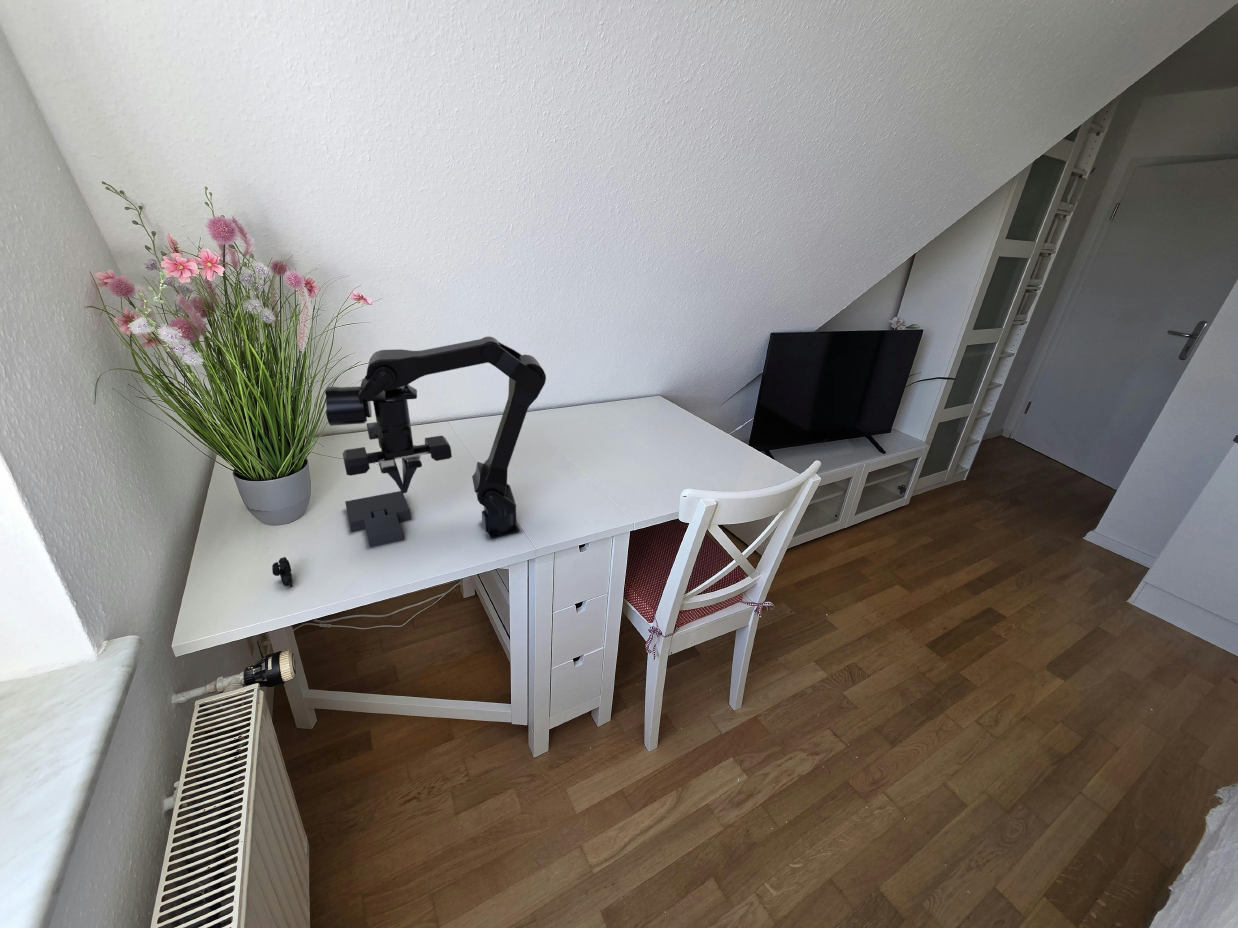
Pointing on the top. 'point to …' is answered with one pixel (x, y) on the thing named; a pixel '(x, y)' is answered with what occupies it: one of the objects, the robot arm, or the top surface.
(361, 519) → the notch pad
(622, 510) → the top surface
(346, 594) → the top surface
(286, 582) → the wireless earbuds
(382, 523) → the tab pad
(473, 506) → the top surface
